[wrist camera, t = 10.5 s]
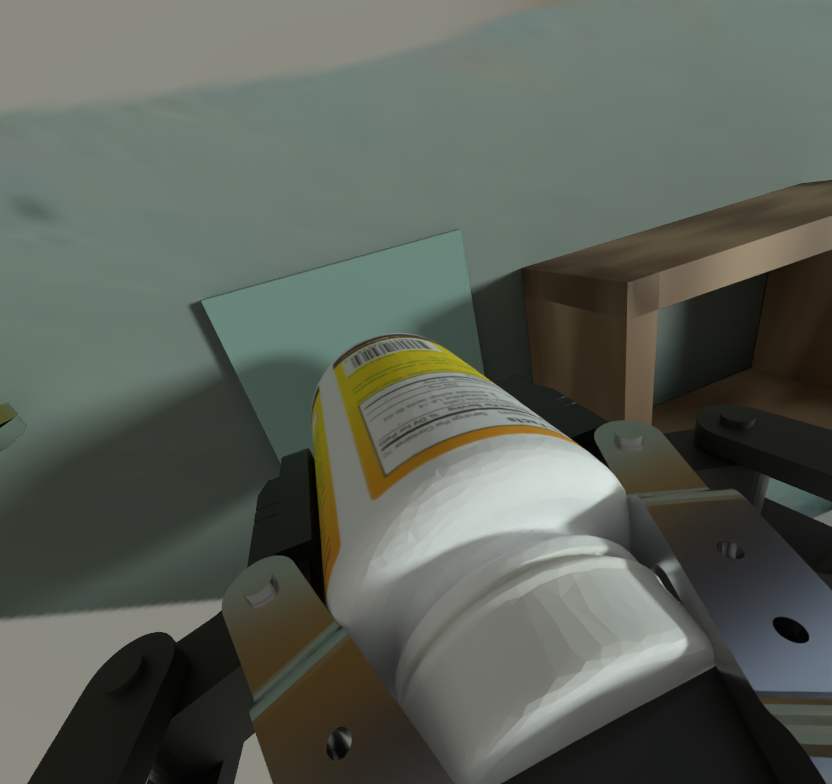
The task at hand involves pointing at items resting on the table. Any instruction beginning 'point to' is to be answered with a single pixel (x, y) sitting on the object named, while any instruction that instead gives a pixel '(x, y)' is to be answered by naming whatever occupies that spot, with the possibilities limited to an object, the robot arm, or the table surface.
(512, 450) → the supplement bottle
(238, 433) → the table surface
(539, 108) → the table surface
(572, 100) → the table surface
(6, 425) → the ring
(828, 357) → the box
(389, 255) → the mat
